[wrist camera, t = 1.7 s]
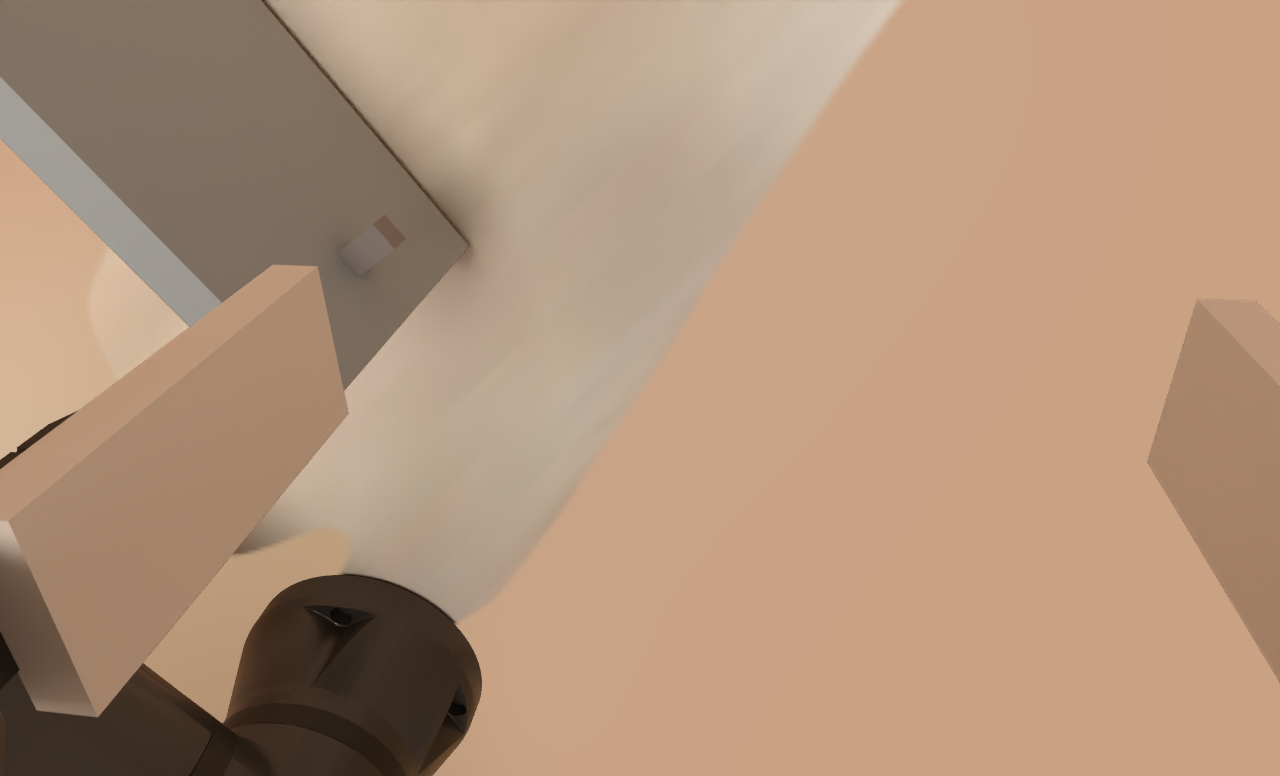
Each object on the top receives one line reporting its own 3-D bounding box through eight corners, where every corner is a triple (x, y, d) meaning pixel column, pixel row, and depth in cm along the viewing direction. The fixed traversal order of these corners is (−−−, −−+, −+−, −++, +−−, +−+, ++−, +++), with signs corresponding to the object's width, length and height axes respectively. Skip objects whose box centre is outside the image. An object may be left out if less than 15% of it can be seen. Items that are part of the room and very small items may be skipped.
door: (128, -101, 38) (-242, -98, 24) (180, -164, 37) (-181, -199, 23) (444, 264, 44) (294, 434, 31) (498, 223, 43) (368, 380, 29)
